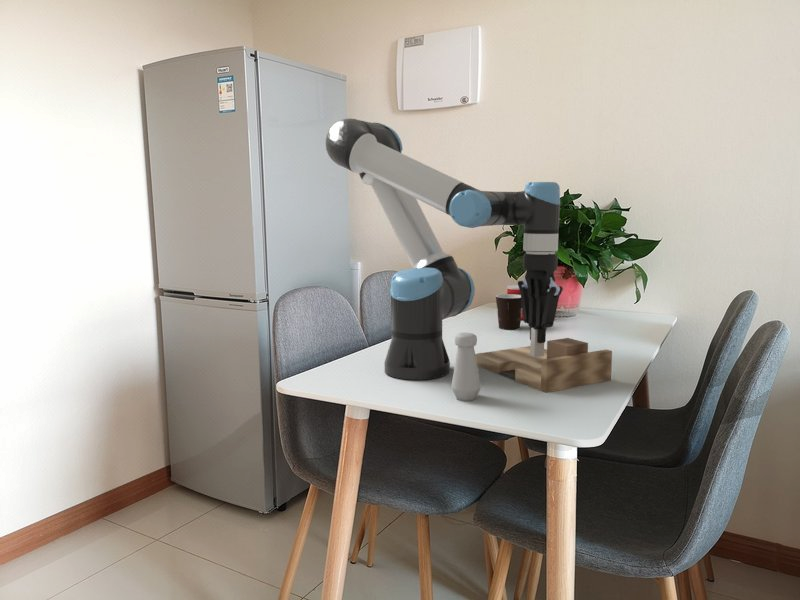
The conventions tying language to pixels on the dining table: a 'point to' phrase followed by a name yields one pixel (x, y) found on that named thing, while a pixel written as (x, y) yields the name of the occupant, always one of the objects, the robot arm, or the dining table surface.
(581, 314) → the dining table surface
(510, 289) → the canned food
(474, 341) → the salt shaker
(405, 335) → the robot arm
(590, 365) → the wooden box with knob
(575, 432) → the dining table surface
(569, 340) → the walnut block
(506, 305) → the coffee mug
